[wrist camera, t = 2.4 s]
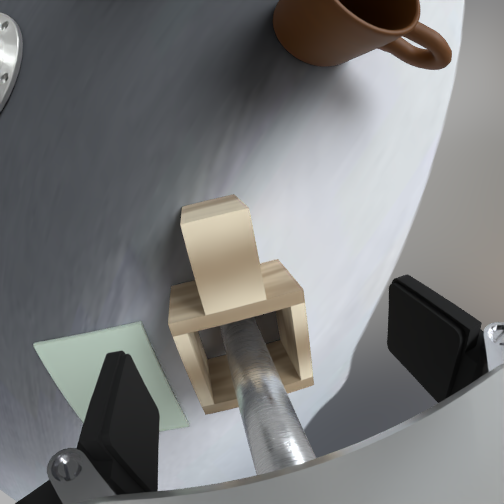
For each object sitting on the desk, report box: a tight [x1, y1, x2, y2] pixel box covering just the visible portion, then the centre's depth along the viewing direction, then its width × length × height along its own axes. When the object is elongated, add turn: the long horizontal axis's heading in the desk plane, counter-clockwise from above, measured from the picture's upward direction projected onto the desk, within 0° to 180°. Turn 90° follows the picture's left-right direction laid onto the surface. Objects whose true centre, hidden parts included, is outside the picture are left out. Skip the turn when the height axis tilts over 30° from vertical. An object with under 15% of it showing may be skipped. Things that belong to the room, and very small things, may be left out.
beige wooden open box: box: [168, 194, 314, 415], centre depth 23 cm, size 15×9×6 cm, turn 11°
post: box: [220, 317, 316, 475], centre depth 18 cm, size 3×3×18 cm
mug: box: [273, 0, 452, 70], centre depth 16 cm, size 12×8×9 cm, turn 67°
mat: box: [33, 321, 189, 431], centre depth 26 cm, size 14×12×1 cm
